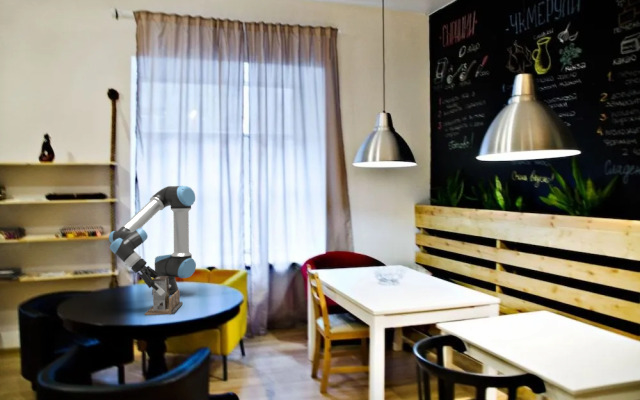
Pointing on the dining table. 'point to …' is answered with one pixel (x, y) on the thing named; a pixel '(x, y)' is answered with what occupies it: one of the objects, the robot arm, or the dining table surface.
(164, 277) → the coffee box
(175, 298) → the hinge bracket
